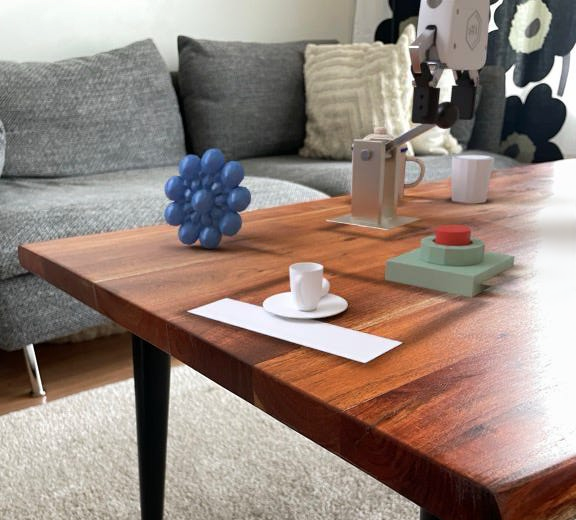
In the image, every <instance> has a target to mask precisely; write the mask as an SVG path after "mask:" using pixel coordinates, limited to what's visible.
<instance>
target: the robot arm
mask: <svg viewBox="0 0 576 520" xmlns="http://www.w3.org/2000/svg"><path fill="white" fill-rule="evenodd" d="M490 2H491V0H420V5H419V6H420V7H419V12H418V22H417V30H416V38H415V40H413V42H411V43H410V45H409V47H408V52H409V58H410V66H409V67H410V73H411V75H412V79H411V86H412V87H413V93H412V94H413V95H412V106H411V118H410V119H411V121H410V122H411V123H413V124H418V125H420V124H436V123H437V119H438V108H439V104H440V98H441V97H440V95H441V87H438V84H439V82H440V80H441V77H442V76H443V73H444V70H451V71H452V76H453V79H454V83H455V85H454V84H453V85H451V91H450V101H449V102H452V103H454V104H455V105H456V106H457V107H458V109H459V119H458V120H462V121H463V120H464V121H471V120H473V119H474V118H475V108H476V99H477V91H478V90H477V89H478V85H479V83H480V73H481V71H482V70H483V67H484V66H485V64H486V61H487V53H488V40H489V39H488V38H489V25H490V8H491V7H490V5H491V4H490Z"/></svg>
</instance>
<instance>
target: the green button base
mask: <svg viewBox="0 0 576 520" xmlns="http://www.w3.org/2000/svg"><path fill="white" fill-rule="evenodd" d="M435 237H436V234H434V235H428V236H426V237H421V239H420V247H417V248H415V249H412V250H409V251H407V252H404V253H401V254H399V255H396V256H394V257H391V258H388V259H386V260H385V273H384V274H385V275H384V280H385V281H389V282H393V283H398V284H404V285H409V286H413V287H419V288H423V289H429V290H434V291H438V292H443V293H449V294H454V295H459V296H464V297H469V298H473V297H475V296H477V295H479V294H480V293H482V292H484V291H486V290H488V289H490V288H492V287H493V285H491V284H485V283H483V282H485V281H488V280H489V279H491V278H493V277H496V276H497V275H499V274H501V273H503V272H505V271H507V270H508V269H511V268H512V267H514V264H515V255H509V254H504V253H497V252H493V251H492V252H491V251H485V247H486V244H485V242H484V240H483V239H480V238H477V237H474V236H471V238H470V245H467V246H446V245H439V244H436V243H435Z"/></svg>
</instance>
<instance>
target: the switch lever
mask: <svg viewBox="0 0 576 520" xmlns="http://www.w3.org/2000/svg"><path fill="white" fill-rule="evenodd" d="M459 120H460V119H459V109H458V107H457V106H456V105H455V104H454V103H452V102H450V101H447V100H446V101H442V102H439V108H438V119H437V123H436V124H418V125H415V126H414V127H413V128H411V129H409V130H407V131H405V132H404V133H402V134H399V135H398V136H396V137H395V139H393V140H391V141H389V142H387V141H386V140H381V141H386V144H385V160H387V159H389V158H391V157H392V155H391V152H390V151H391V150H393V149H395V148H397V147H399V146H400V145H402V144H404V143H406V144H407V142H410V141H411V140H414V139H416V138H417V137H419V136H421V135H423V134H424V133H426V132H428V131H430V130H432V129H433V128H435V127H437V128H439V129H442V130H448V129H451V128H453V127H454V126H455V125H457V123H458V121H459Z"/></svg>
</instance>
